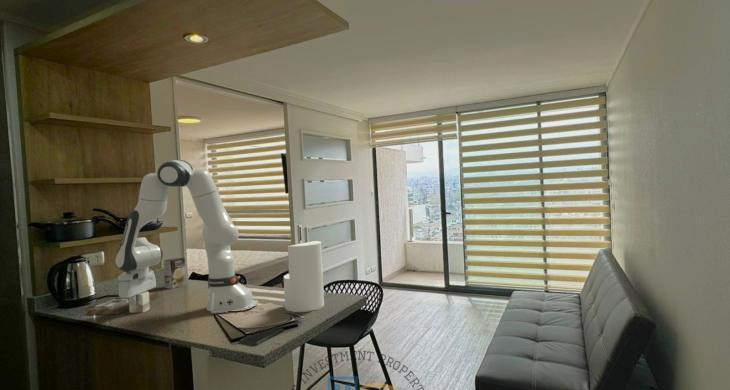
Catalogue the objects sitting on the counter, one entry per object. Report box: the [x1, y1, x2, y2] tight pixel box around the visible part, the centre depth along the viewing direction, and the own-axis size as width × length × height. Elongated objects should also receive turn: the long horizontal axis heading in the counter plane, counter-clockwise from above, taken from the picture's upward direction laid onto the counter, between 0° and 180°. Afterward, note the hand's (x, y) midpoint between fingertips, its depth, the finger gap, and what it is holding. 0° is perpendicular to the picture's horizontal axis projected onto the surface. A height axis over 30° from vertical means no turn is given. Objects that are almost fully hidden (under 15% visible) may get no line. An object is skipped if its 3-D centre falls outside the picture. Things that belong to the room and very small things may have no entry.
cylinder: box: [283, 240, 325, 313], centre depth 170 cm, size 17×17×28 cm
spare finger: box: [128, 291, 151, 314], centre depth 174 cm, size 7×4×8 cm, turn 84°
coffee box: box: [163, 257, 186, 290], centre depth 220 cm, size 9×6×16 cm
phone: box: [239, 327, 284, 347], centre depth 135 cm, size 8×1×15 cm
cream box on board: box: [86, 292, 159, 315], centre depth 185 cm, size 15×28×14 cm, turn 174°
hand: (139, 302), depth 174 cm, fingers closed on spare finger, 4 cm apart
